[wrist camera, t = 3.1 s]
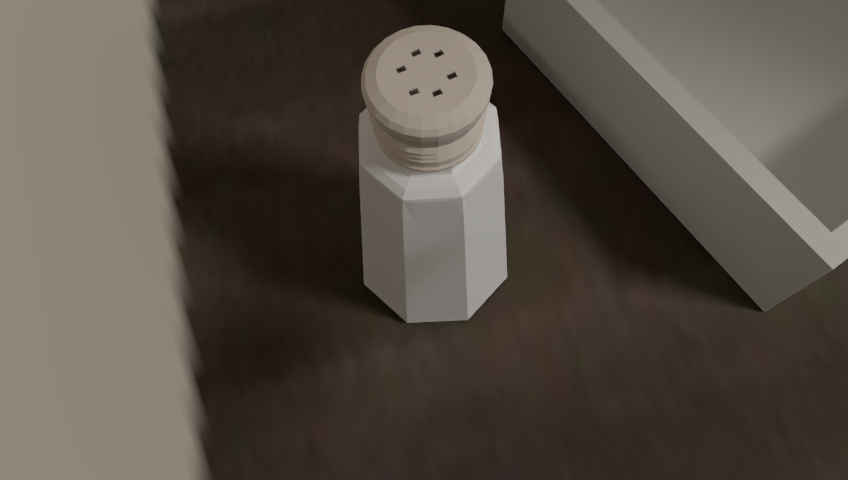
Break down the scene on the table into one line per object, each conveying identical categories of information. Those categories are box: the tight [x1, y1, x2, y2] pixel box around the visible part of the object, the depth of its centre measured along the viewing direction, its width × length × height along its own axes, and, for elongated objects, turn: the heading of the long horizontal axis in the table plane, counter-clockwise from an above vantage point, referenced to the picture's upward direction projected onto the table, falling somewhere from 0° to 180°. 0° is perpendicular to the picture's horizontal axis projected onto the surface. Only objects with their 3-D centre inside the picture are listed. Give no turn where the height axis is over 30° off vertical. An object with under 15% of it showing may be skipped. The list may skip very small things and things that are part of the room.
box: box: [502, 0, 848, 312], centre depth 25 cm, size 15×15×4 cm
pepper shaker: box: [359, 25, 507, 323], centre depth 20 cm, size 5×5×11 cm
